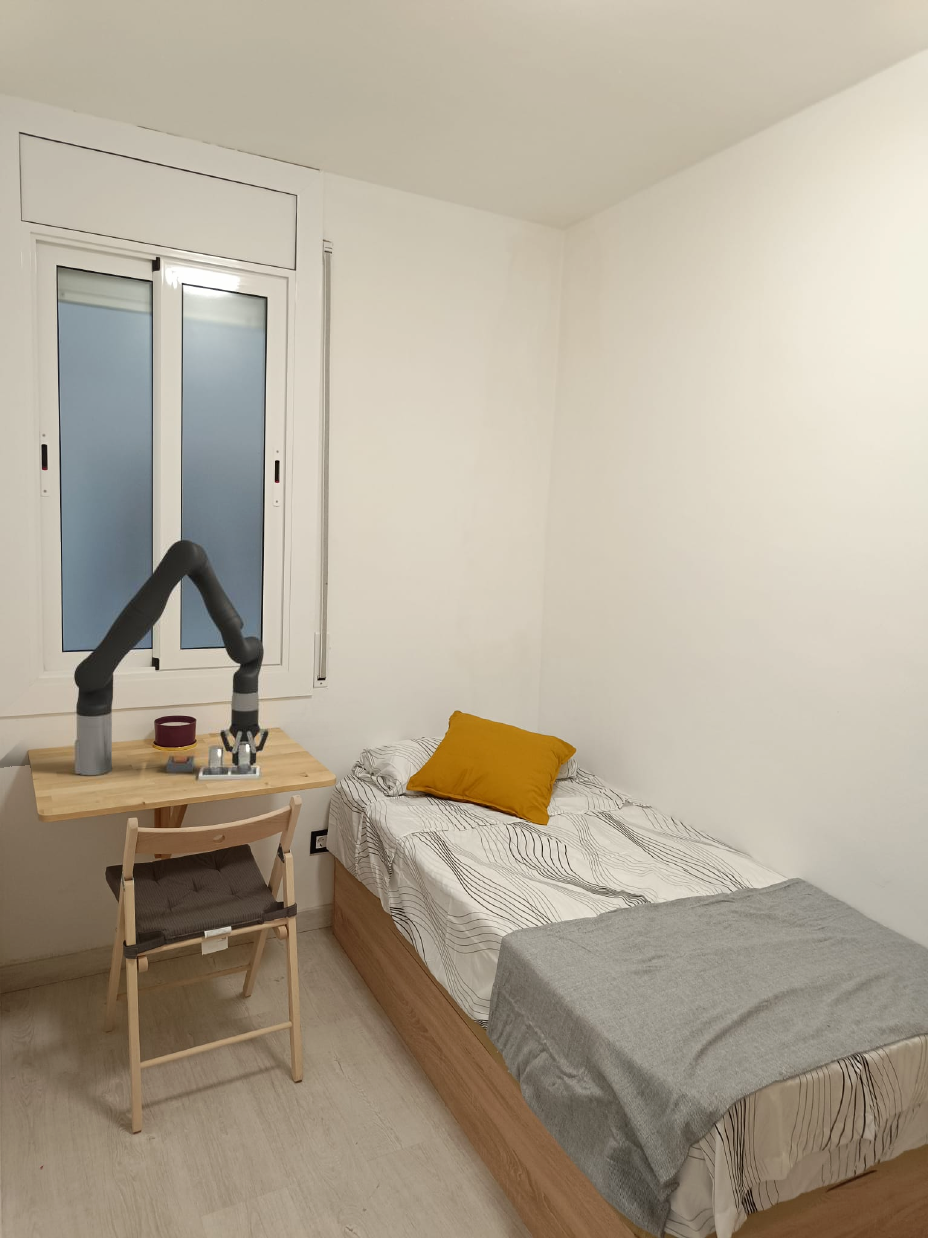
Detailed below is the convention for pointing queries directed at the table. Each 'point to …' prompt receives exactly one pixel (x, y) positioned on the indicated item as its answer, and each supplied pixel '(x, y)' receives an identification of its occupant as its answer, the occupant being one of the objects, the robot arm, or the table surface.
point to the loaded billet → (215, 760)
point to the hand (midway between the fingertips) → (244, 764)
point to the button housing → (180, 765)
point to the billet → (244, 757)
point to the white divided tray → (230, 774)
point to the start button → (180, 759)
